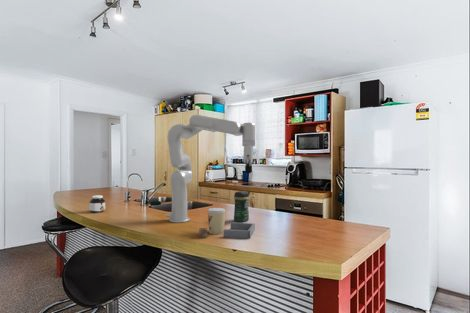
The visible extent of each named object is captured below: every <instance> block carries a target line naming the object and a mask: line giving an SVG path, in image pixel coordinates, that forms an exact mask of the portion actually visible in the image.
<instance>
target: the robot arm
mask: <svg viewBox="0 0 470 313" xmlns="http://www.w3.org/2000/svg"><path fill="white" fill-rule="evenodd" d="M188 121H189V122H188V124H187V125H185V124H181V123H177V124H174V125H173V126H171V127H170V128H169V130H168V133H167V143H168V144H167V145H168V151H169V159H170V164H171V167H173V168H176V170H174V171H172V173H171V175H170V186H171V213H166V214H165V217H167V218H169V219H168V221H169V222H170V223H178V224H179V223H186V222H189V221H190V219H191V217H189V216H188V186H187V184H189V183H191V182H192V180H193V170H192V168H193V167H192V161H191V158H190V156H189V154H187V153H185V152H184V148H183V146H184V145H183V144H182V139H185V140H189V139H191V138H193V137H194V136H196V135H197V134H199V133H200V132H202V131H207V132H212V133H217V132H218V133H224V134H228V135H233V136H235V137H238V136H239V137H240V136H241V137H242V139H241V140H242V142H241V144H242V147H243V159H242V162H243V163H244V164H245V166H244V173H245V174H251V173H253V165H252V163H253V161H254V147H256V124H255V123H254V122H244V123H239V122H237V121H235V120H229V119H228V120H227V119H224V118H223V119H221V118H218V117H212V116H206V115H201V114H193V115H192V116H190V118H189V120H188Z"/></svg>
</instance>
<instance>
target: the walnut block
mask: <svg viewBox="0 0 470 313" xmlns="http://www.w3.org/2000/svg"><path fill="white" fill-rule="evenodd" d="M198 238H199V239H207V238H208V227H199V228H198Z"/></svg>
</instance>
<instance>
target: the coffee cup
mask: <svg viewBox="0 0 470 313" xmlns="http://www.w3.org/2000/svg"><path fill="white" fill-rule="evenodd" d="M207 219H208V222H207V223H208V232H209V234H212V235H220V234H224V229H225V221H226V220H225V219H226V209H225V208H223V207H211V208H208V209H207Z"/></svg>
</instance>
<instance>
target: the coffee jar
mask: <svg viewBox="0 0 470 313" xmlns="http://www.w3.org/2000/svg"><path fill="white" fill-rule="evenodd" d="M233 198H234V211H233V221H235V223H246V222H247V221H249V219H250V218H249V217H250V216H249V200H250V193H249V192H248V191H247V190H239V191H235V192H234V195H233Z"/></svg>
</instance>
